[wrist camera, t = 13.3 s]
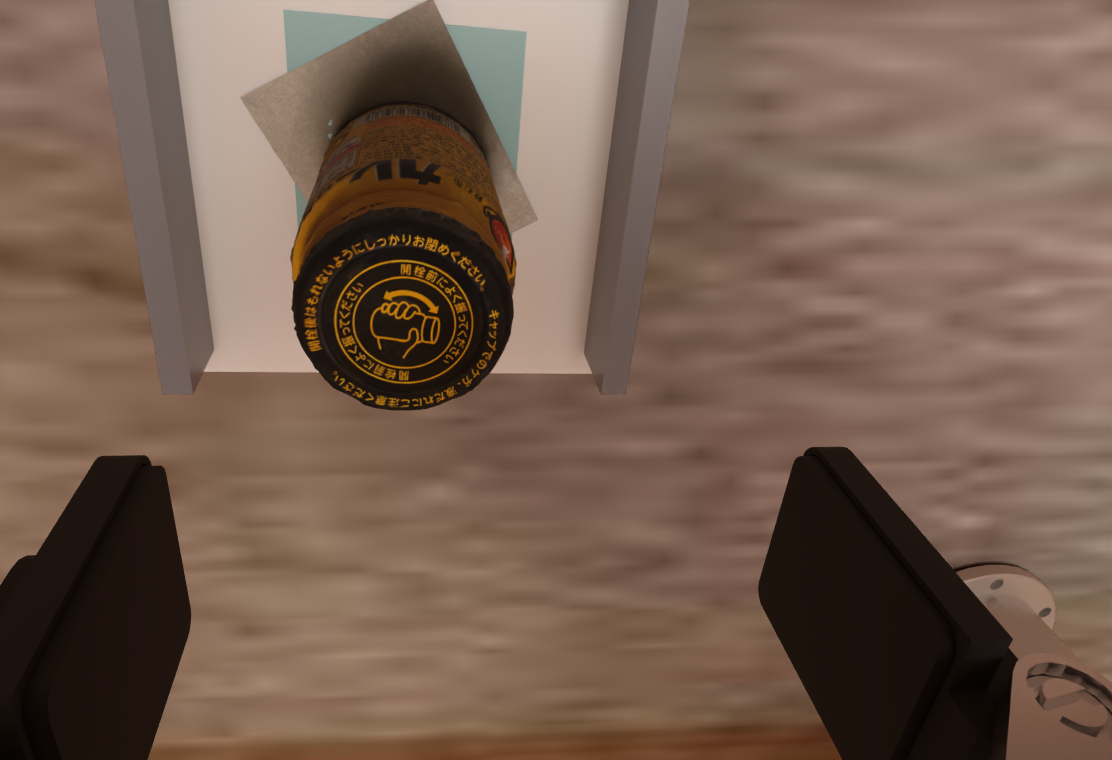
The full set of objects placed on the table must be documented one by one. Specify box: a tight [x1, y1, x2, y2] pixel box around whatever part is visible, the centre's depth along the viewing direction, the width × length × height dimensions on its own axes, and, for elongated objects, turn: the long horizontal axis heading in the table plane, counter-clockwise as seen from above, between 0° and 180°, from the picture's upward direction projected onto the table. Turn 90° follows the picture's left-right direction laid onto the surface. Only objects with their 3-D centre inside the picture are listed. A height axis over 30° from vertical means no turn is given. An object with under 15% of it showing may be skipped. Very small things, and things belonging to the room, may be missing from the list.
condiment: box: [241, 0, 538, 410], centre depth 23 cm, size 7×8×12 cm
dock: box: [94, 0, 690, 394], centre depth 28 cm, size 18×18×6 cm
